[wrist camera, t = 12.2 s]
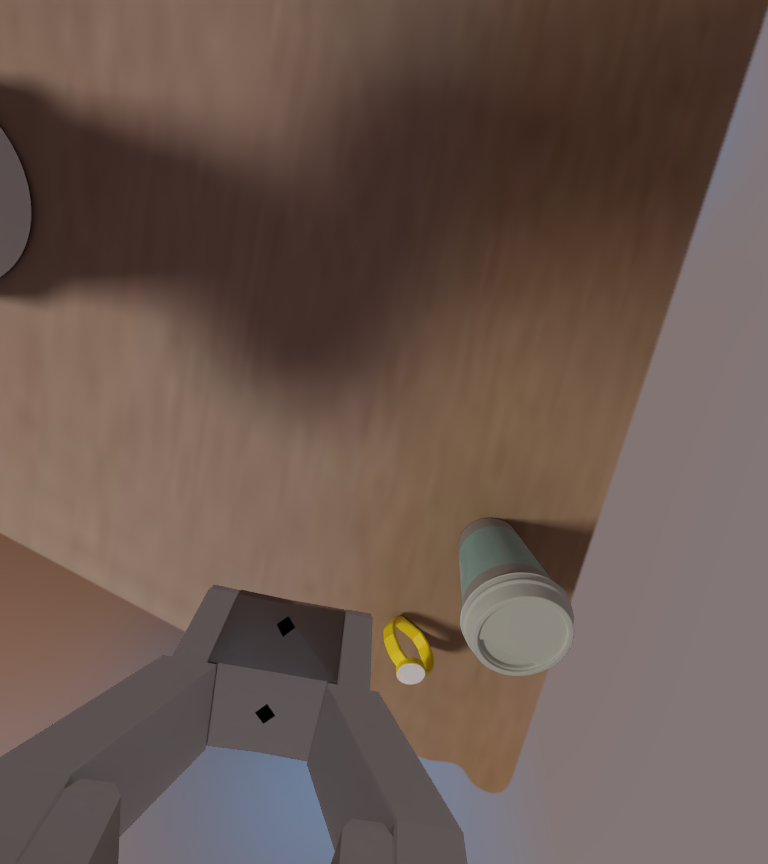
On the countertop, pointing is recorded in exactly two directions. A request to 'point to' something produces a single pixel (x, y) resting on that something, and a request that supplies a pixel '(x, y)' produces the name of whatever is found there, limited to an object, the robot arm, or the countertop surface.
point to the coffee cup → (510, 602)
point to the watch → (405, 667)
